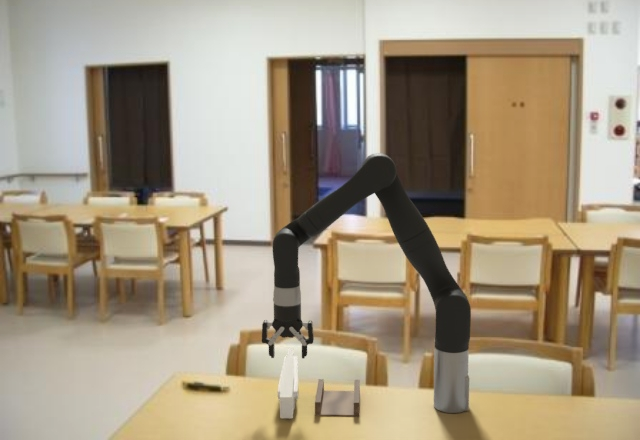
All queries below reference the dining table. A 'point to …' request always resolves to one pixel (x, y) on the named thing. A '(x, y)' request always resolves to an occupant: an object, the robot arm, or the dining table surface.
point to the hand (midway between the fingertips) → (288, 357)
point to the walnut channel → (337, 401)
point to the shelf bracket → (288, 385)
